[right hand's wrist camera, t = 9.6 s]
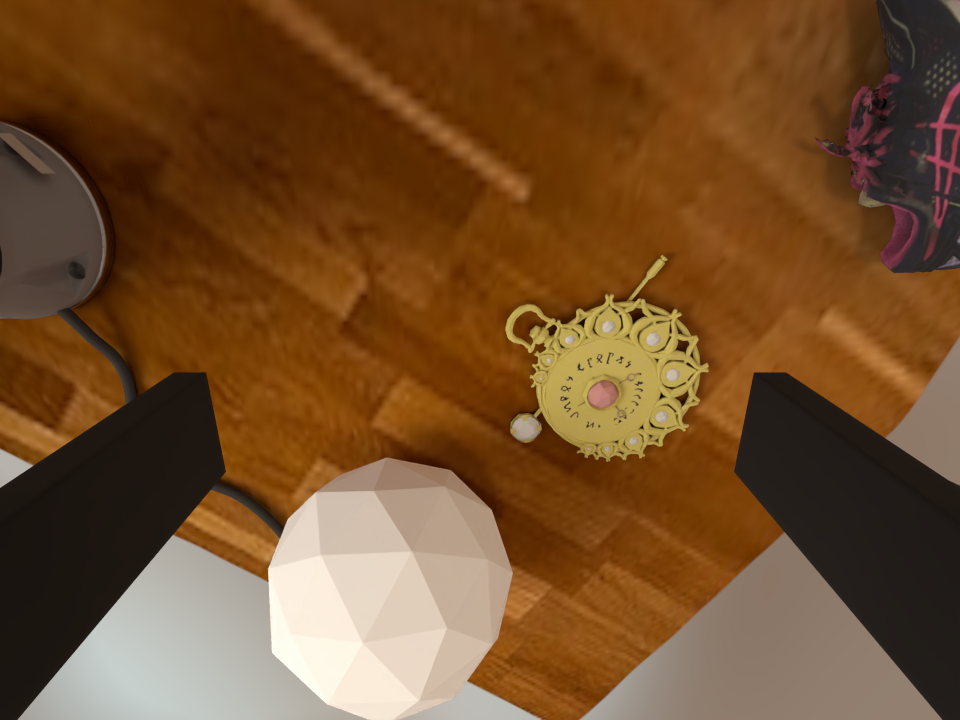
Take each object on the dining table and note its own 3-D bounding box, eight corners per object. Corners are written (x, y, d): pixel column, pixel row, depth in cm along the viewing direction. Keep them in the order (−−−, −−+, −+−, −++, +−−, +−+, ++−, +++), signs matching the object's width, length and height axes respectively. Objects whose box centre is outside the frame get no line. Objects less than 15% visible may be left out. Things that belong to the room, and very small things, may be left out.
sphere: (440, 504, 59) (438, 714, 49) (261, 476, 50) (210, 730, 39) (546, 449, 46) (575, 720, 36) (330, 395, 37) (281, 745, 26)
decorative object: (620, 510, 49) (446, 407, 44) (613, 494, 52) (447, 395, 47) (779, 343, 43) (598, 203, 38) (763, 333, 46) (591, 200, 41)
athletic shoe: (1000, -120, 29) (789, 13, 32) (1208, 212, 28) (968, 318, 31) (894, 1, 40) (744, 92, 43) (1039, 243, 39) (875, 319, 42)
